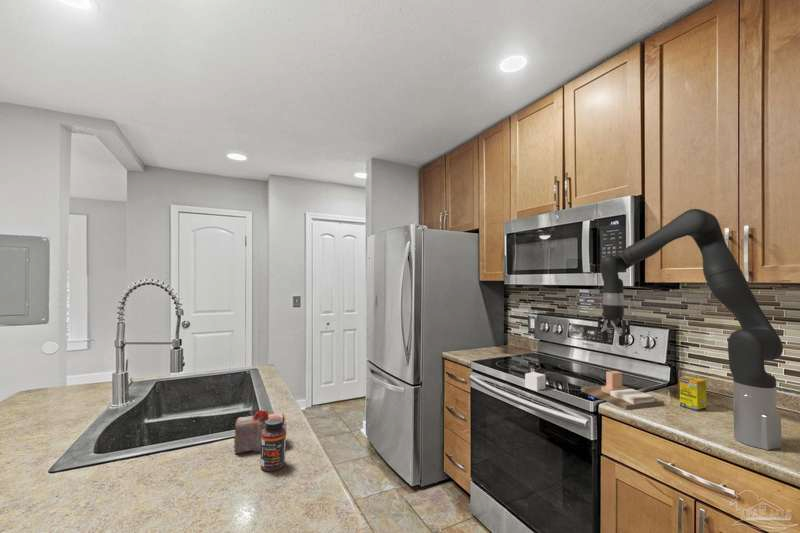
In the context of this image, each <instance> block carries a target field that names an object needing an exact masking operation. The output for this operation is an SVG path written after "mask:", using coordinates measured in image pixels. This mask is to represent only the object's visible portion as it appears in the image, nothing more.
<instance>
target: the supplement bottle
mask: <svg viewBox="0 0 800 533" xmlns="http://www.w3.org/2000/svg"><path fill="white" fill-rule="evenodd" d="M286 440H287V429H286V430H285V428H284V427H282V419H279V418H273V419H269V420H267V421H266V429H264V430H263V432H262V435H261V451H260V469H262V470H263V471H266V472H274V471H277V470H280V469H282V468H283V467H284V466H285V464H286V450H287V449H286V446H287V445H286Z"/></svg>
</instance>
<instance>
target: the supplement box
mask: <svg viewBox="0 0 800 533" xmlns="http://www.w3.org/2000/svg"><path fill="white" fill-rule="evenodd" d="M679 407H681V408H686V409H689V410H691V411H695V412H697V411H698V412H701V411H705V410H707V380H706V379H702V378H698V377H695V376H691V375H686V376H681V377H679Z"/></svg>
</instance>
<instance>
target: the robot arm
mask: <svg viewBox="0 0 800 533" xmlns="http://www.w3.org/2000/svg"><path fill="white" fill-rule="evenodd" d="M687 236H688V237H691V238H692V239H693V240H694V242H695V243H696V245H697V247H698V249H699V251H700V254H701V257H702V272H703V276H704V278H705V281H706V283H707V285H708V288H709V290H710V292H711V294H712V295H713V296H714V297H715V298H716V299H717V301H719V302H720V303H721V304H722V305H723V306H724V307H725V308H726V309H728V311H730V313H732V315H733V316H734V317H735V318H736V319H737V321H738V323H739V326H740V327H741V329H738V330H734V331H733V332H731V334H730V335H729V337H728V340H727V354H728V365H729V371H730V372H731V374H732V381H733V382H732V384H733V385H732V386H733V388H732V392H733V394H732V397H733V398H732V399H733V400H732V401H733V404H732V405H733V438H734V440H736V441H737V442H740V443H741V444H745V445H746V446H750V447H754V448H759V449H763V450H765V451H772V450H776V449H782V414H780V413H778V410H777V408H778V406H777V398H778V397H777V378H776V377H775V376H774V375H772V374H769V373H768V372H767V371H766V367H765V362H766V361H773V360H774V361H775V360H777V359H779V358H780V357H781V356H782V354H783V352H784V346H783V341H782V340H781V337H780V335H778V333H777V331H776V330H775V328H774V326H773V325H772V324H771V323H770V320H769V319H768V318H767V316H766V315H765V313H764V312H763V310H762V308H761V306H760V304H759V302H758V301H757V298H756V297H755V295H754V294H753V291H752V290H751V288H750V285H749V282H748V281H747V278H746V277H745V275H744V273H743V270H742V269H741V267H740V265H739V264H738V262H737V260H736V258H735V257H734V255H733V253H732V252H731V250H730V248H729V247H728V244H727V242H726V240H725V236H724V234H723V232H722V227H721V225H720V223H719V221H718V218H717V217H716V216H715V215H714V214H712V213H710V212H708V211H706V210H704V209H700V208H692V209H688V210H686V211H684V212H683V213H681V214H680V215H678V216H676V217H675V218H673V220H670V222H667V224H665V225H663V226H662V227H660V228H659V229H658V230H655V232H653V233H651V234H650V235H648V236H646V237H645V238H643V239H641V240H639V241H636V242H634V243H633V244H630V245H628V246H627V247H625V248H624V249H623V251H622V252H621V253H619V254H616V255H613V254H608V255H605V256H603V257H602V258H601V260H600V263H599V268H600V270H599V271H600V274H601V278H602V281H603V295H602V314H603V315H600V316H598V317H597V330H598V331H600V332H601V340H602V341H601V342H605V343H606V342H609V331H610V330H611V329H612V330H614V331H615V332H617V334H618V346H622V347H623V346H625V345H626V336H627V337H628V336H630V335H631V324H630V323H631V322H630V320H629V319H623V317H624V316H625V297H624V281H623V280H622V279H621V278H620V276H619V273H620V272H624V271H626V270H629V268H631V267H632V266H634V265H635V264H637V263H639V262H642V261H644V260H646V259H648V258H650V257H652V256H654V255H655V254H657V253H658V252H659V251H660V250H662V249H663V248H664V247H665V246H666V245H667V244H669V243H671V242H673V241H675V240H679V239H680V238H683V237H687Z"/></svg>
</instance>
